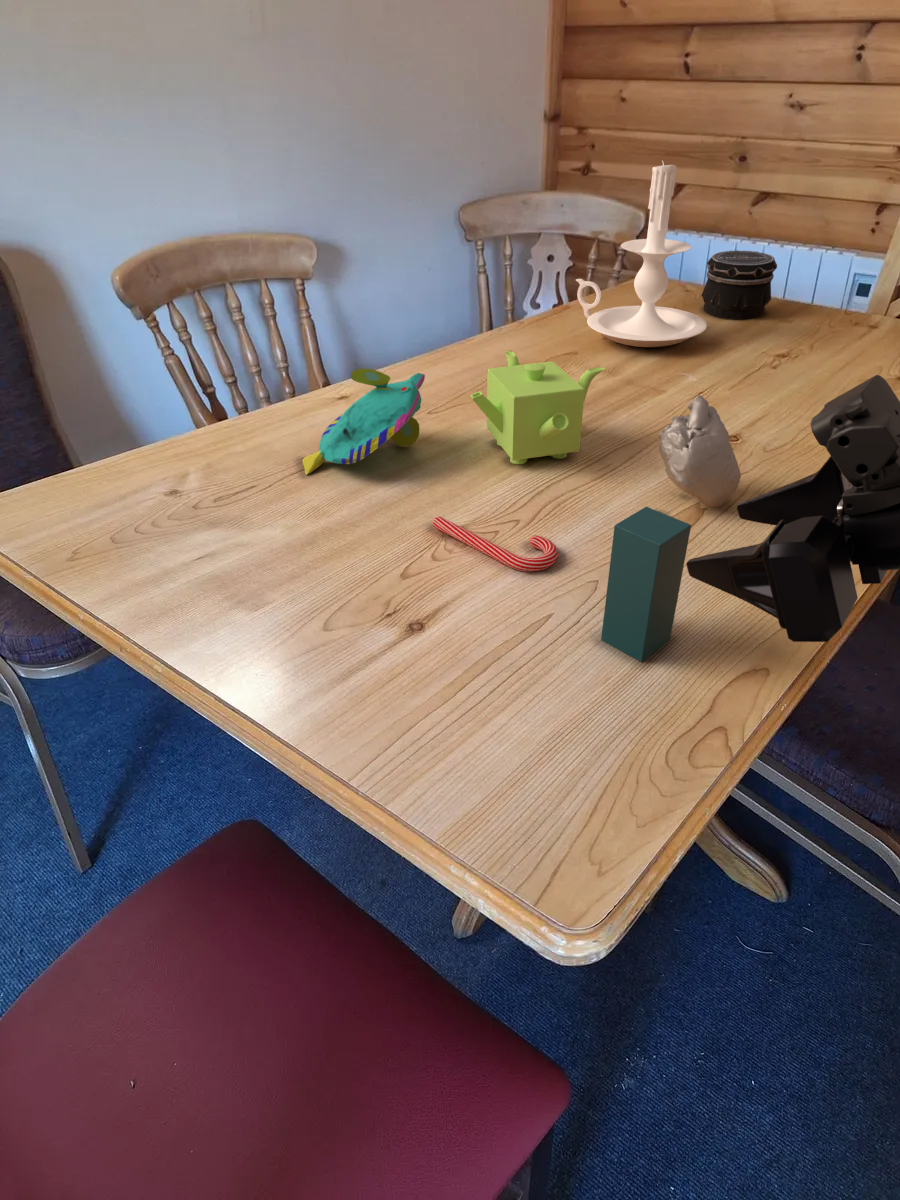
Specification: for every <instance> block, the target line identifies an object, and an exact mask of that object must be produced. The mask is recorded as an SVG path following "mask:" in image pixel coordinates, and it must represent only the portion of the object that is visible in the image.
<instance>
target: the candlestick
mask: <svg viewBox="0 0 900 1200" xmlns="http://www.w3.org/2000/svg"><path fill="white" fill-rule="evenodd" d="M661 162H662V164H661V165H657V166H656V165H655V166H653V167H652V170H651V171H652V174H651V182H650V188H649V198H648V199H649V200H648V206H647V209H648V210H649V217H648V224H647V225H648V226H647V228H648V229H647V235H646V238H640V239H639V238H638V239H631V240H627V241H624V242H622V243H621V244H620V247H621V248H622V249H623V250H625V251H628V252H631V253H634V254H636V255H639V256H641V257H642V259H643V260H642V261H643V263H642V266H641V267H640V269H639V270H638V272H637V273H636V275H635V277H634V281H633V286H634V291H635V294H636V296H637V298H638V299H639V300H640V301H641V305H621V306H615V307H609V308H605V309H601V310H598V311H595V312H594V313H592V314H590V311H591V309H593V308H595V307H597V306H598V305H599V303H600V302H601V300H602V292H601V288H600V286H599V285H598V284H597V283H595V281H590V280H589V281H588V280H587V281H586V280H584V279H583V278H577V279H575V282H577V283H578V284H579V286H578V288H577V293H576V295H577V296H576V298H577V300H578V302H579V304H580V305H581V307H582V309H583V315H584V317H585V319H587V320H586V324H587V325H588V327H589V328H591V330H593V331H595V332H597V333H599V334H601V336H603V337H604V338H606V339H608V340H610V341H612V342H615V343H618V344H622V345H624V346H625V345H626V346H630V347H631V346H632V347H641V348H657V347H658V348H660V347H661V348H663V347H668V346H672V345H677V344H679V343H683V342H684V341H687V340H689V339H690V338H692V337H697V336H698V335H700V334H702V333H704V332H705V331H706V330H707V328H708V323H707V321H706V320H705V319H704V318H703V317H701V316H700V315H697V314H695V313H693V312H689V311H686V310H683V309H678V308H674V307H673V308H672V307H668V306H667V307H666V306H659V305H658V306H657V305H656V302H657V301H659V300H660V299H661V298H662V297H663V296H664V295H665V293H666V291H667V290H668V286H669V275H668V273H667V271H666V268H665V260H666V259H667V258H668V257H670V256H672V255H676V254H681V253H684V252H686V251H690V249H692V246H691V244H689V243H687V242H685V241H682V240H681V241H680V240H675V239H667V238H666V237H667V236H666V235H667V232H668V230H669V220H670V213H671V204H672V198H673V197H674V194H675V187H676V179H677V172H678V171H677V169H678V167H677V165H675V164H667V165H666V164H665V163H664V160H661ZM586 287H591V288H592V289H593V290H594V292H595V294H596V295H595V300H594V302H592V303H588V302H587V301H586V300H584V298H583V291H584V289H585V288H586Z"/></svg>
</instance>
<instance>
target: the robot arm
mask: <svg viewBox="0 0 900 1200" xmlns="http://www.w3.org/2000/svg"><path fill="white" fill-rule="evenodd" d="M810 429H811V431H812V434H813V436H814V439H815V440H816V441H817V443H818V444H819V445H820V446H823V447H824V448H825V449H826V451H827V452H828V454H829V455H830V456H829V457H828V459H827V460H826V461H825V462H824V464H823V465H822V466H821V467H820V468H819V470H817V471H816V472H814V473H812V474H810V475H807V476H804V477H801V478H800V479H798V480H795V481H793V482H790V483H787V484H785V485H782V486H780V487H777V488H775V489H772V490H770V491H767V492H765V493H762V494H760V495H757V496H754V497H751V498H748V499H747V500H744V501H742V502H739V503H738V504H737V506H736V511H737V514H738V517H739V519H741V520H744V521H748V522H754V523H759V524H764V525H770V526H775V527H774V528H773V529H772V530H771V531H770V533H768V535H767V537H766V538H764V540H763V541H762V542H761V543H757V544H752V545H748V546H742V547H738V548H733V549H728V550H724V551H717V552H714V553H709V554H705V555H701V556H696V557H693V558H690V559H688V561H686V564H685V565H686V569H687V573H688V575H689V577H691V578H693V579H695V580H697V581H700V582H701V583H702V582H703V584H705V585H708V586H710V587H713V588H715V589H718V590H720V591H722V592H725V593H727V594H729V595H731V596H733V597H736V598H738V599H740V600H742V601H743V602H746V603H748V604H750V605H752V606H753V607H756V608H757V609H758V610H761V611H762V612H765V613H766V614H768V615H769V616H772V617H774V618H776V619H777V621H778V625H779V627H780V628H781V629H783V630H786V631H785V632H786V635H787V638H788V639H789V640H790V641H791V642H793V643H828V642H829V641H830V640H831V639H832V638H833V637H834V636H835V635H836V634H837V633H838V632H839V631H840V630H841V629H842V628H843V626H844V624H845V623H846V620H847V619H848V617H849V615H850V613H851V612H852V610H853V608H854V606H855V604H856V602H857V600H858V598H859V597H858V593H857V589H856V583H855V577H854V574H853V568H852V565H853V566H857V565H858V571H859V574H860V579H861V585H875V584H876V585H877V584H878V585H879V584H882V582H883V580H884V579H885V576H886V574H887V573H888V571H896V570H900V400H899V398H898V396H897V395H896V393H895V392H894V390H893V389H892V387H891V386H890V384H889V383H888V381H887V380H886V379H885V378H884V377H883V376H882V375H880V374H875V375H873V376H872V377H870V378H868V379H867V380H864V381H863V382H861V383H860V384H857V385H856V386H854V387H853V388H851V389H849V390H847V391H845V392H843V393H842V394H840V395H838V396H837V397H835V398H833V399H832V400H830V401H828V402H826V403H824V405H823V408H822V409H821V410H820V411H819V412H818V413H817V414H816V415H814V416H813V417H812V418H811V422H810Z"/></svg>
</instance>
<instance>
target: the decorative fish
mask: <svg viewBox="0 0 900 1200" xmlns="http://www.w3.org/2000/svg"><path fill="white" fill-rule="evenodd" d="M425 378H426V375H425V374H424V373H419V372H417V373H414V374H413V375H412V376H410V377H409V378H408V379H406V380H403V381H398V382H392V383H391V382H390V380H391V376H390V375H388V374H385V373H383V372H382V371H379V370H376V369H372V368H357V369H354V370H352V372H351V373H350V379H351V380H352V381H353V382H355V383H359V384H364V385H368V386H373V388H372V389H370V391H368V392H366V393H365V394H364V395H362V396H361V397H360V398H358V399H357V400H356V401H355V402H353V403H352V404H351V405H350V406H349V407H348V408H347V409H345V411H344V412H343V413H342V414H340V415H339V416H338V417H337V418H335V419H334V420H333V421H332V422H331V423H330V424H328V425H327V426H326V428H325V430H324V431H323V433H322V435H321V437H320V439H319V440H320V441H319V443H318V451H317V452H315V453H311V454H309V455H306V456H305V457H304V458H303V459H302V465H303V469H304V474H305V475H306V476H307V475H309V474H312V472H314V471H315V470H316V469H318V468H319V467H321V465H323V464H324V463H325V462H327V461H328V462H331V463H334V464H338V465H339V464H340V465H350V464H351V465H352V464H355V463H357V462H360V461H361V460H363V459H365V458H366V457H368V456H369V455H371V454H372V453H373V452H375V451H376V450H377V449H379V447H380V446H382V445H383V444H385V443H386V442H387V441H388V440H389V439H390V438H391V441H392V443H394V444H395V445H396V446H399V447H403V448H404V447H411V446H412V445H414V444H415V443H417V441H418V439H419V436H420V429H421V428H420V423H419V422H418V420H417V419H416V418H414V415H415V414H416V413H417V412H418V411H419V410H420V409H421V407H422V406H421V404H422V396H421V393H420V391H419V390H420V388H421V387H422V386H423V384H424V382H425ZM389 382H390V383H389Z"/></svg>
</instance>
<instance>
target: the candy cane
mask: <svg viewBox="0 0 900 1200" xmlns="http://www.w3.org/2000/svg"><path fill="white" fill-rule="evenodd" d="M432 526H433V527H434V528H435V529H437V530H438V531H441V532H442V533H444V534H446V535H448V536H451V537H452V538H454V539H456V540H458V541H460V542H462V543H464V544H465V545H468V546H469V547H471V548H473V549H475V550H477V551H479V552H480V553H483V554H484V555H486V556H488V557H491V558H492V559H494V560H496V561H498V562H500V563H501V564H504V565H506V566H508V567H509V568H512V569H514V570H517V571H520V572H539V571H543V570H546V569H548V568H549V567H551V566H552V565H554V564H555V562H556V561H557V560H558V555H559V552H558V548H557V546H556V544H555V543H554V542H552V541H551V540H550V539H549V538H546V537H544V536H541V535H536V534H535V535H532V536H531V537H530V538H529V545H530V546H531V547H532V548H533V549H537V550H540V551H541V552H543V553H544V554H542V555H540V556H537V557H536V556H535V557H524V556H523V557H522V556H519V555H517V554H515V553H513V552H511V551H509V550H508V549H505V548H503V547H501V546H500V545H498V544H496V543H493V542H492V541H490V540H488V539H485V538H484V537H481V536H480V535H477V534H475V533H473V532H472V531H469V530H468V529H466V528H464V527H462V526H460V525H458V524H456V523H454V522H452V521H450V520H448V519H446V518H444V517H443V516H436V517H434V518H433V519H432Z"/></svg>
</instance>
